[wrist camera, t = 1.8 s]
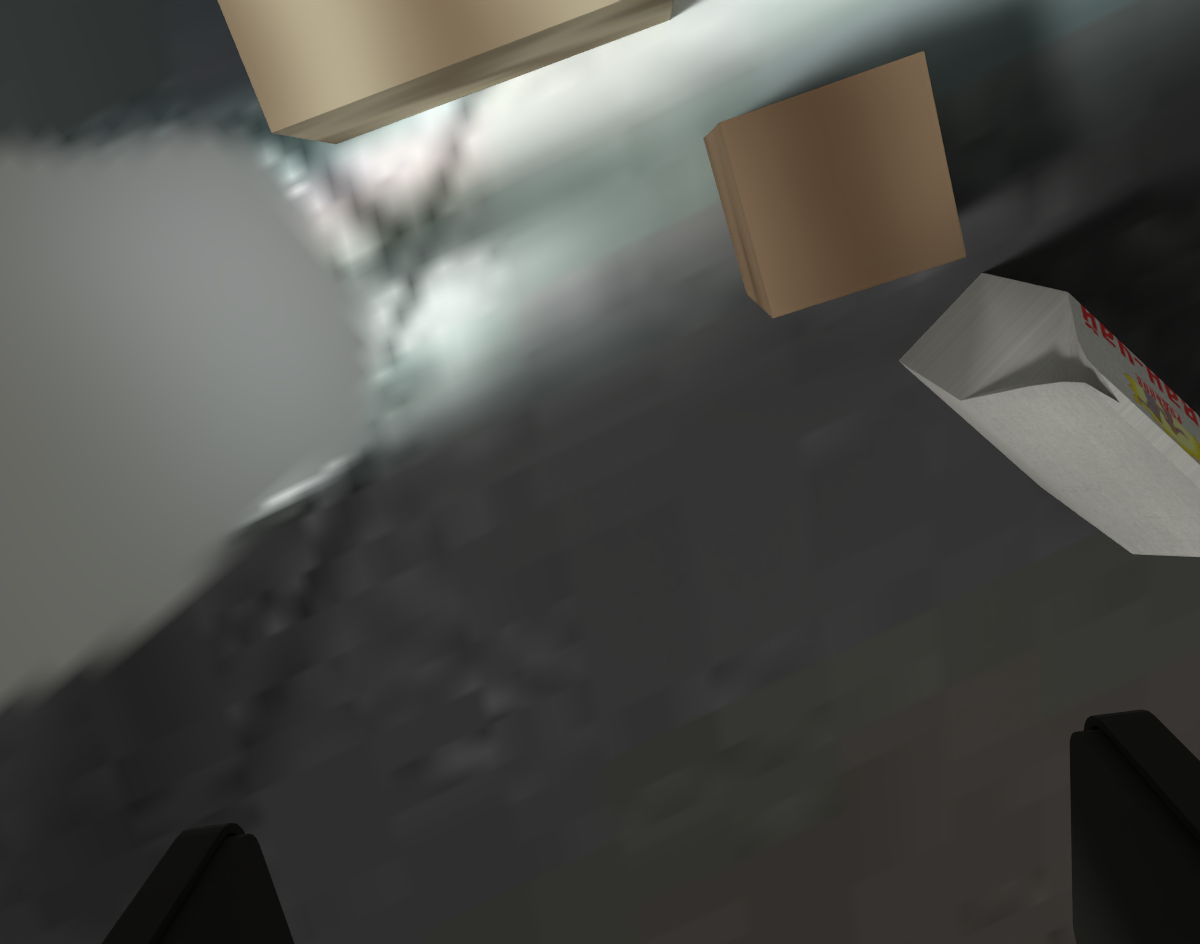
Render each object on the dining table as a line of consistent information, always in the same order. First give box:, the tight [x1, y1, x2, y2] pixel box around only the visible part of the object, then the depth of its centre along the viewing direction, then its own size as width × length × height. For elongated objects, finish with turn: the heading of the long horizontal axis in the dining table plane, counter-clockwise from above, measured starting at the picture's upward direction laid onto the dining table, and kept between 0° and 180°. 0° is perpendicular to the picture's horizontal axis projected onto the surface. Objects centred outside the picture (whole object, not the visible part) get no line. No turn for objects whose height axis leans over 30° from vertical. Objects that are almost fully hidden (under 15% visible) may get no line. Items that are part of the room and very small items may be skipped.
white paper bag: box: [899, 273, 1200, 557], centre depth 24 cm, size 4×7×10 cm, turn 51°
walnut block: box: [704, 51, 966, 318], centre depth 25 cm, size 5×5×6 cm
